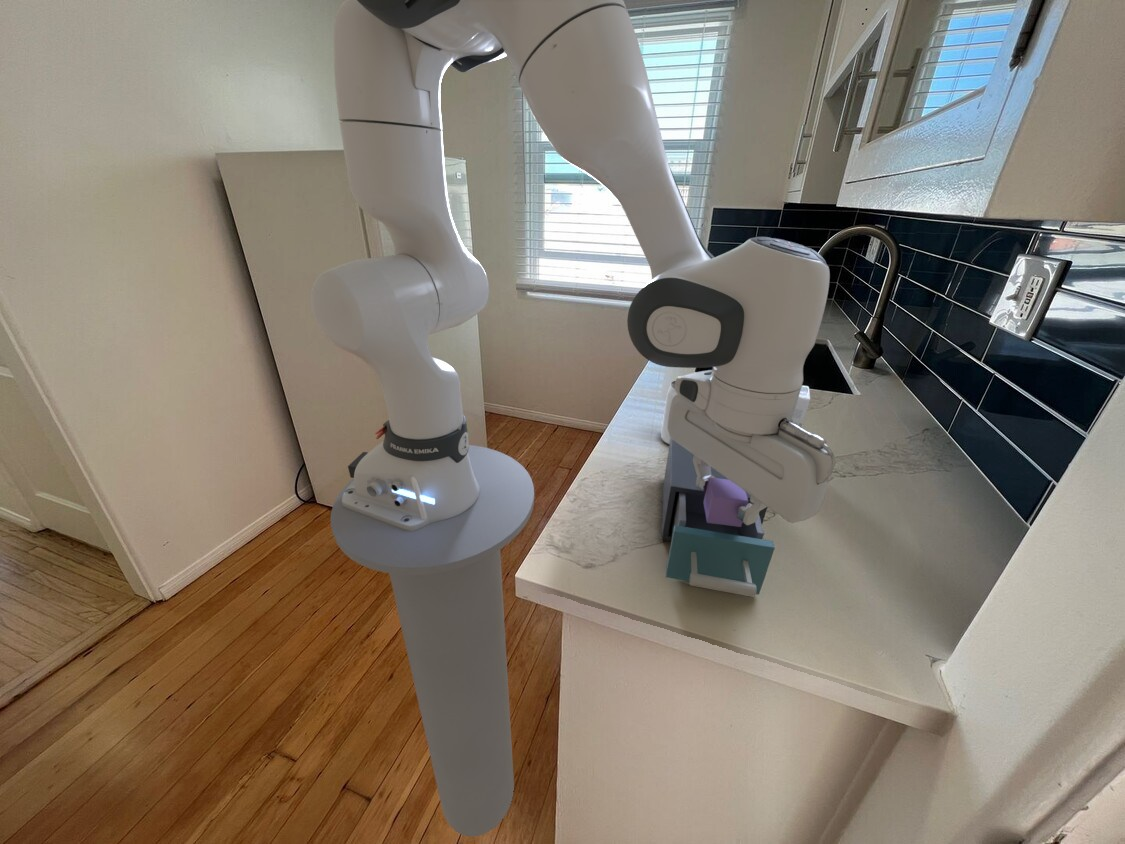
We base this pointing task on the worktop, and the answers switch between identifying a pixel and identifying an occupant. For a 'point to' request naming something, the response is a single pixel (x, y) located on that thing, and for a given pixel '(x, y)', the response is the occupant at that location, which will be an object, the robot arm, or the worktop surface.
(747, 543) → the drawer
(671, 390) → the can
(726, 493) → the purple cube
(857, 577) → the worktop surface
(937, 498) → the worktop surface
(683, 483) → the cabinet
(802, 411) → the syrup box
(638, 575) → the worktop surface
